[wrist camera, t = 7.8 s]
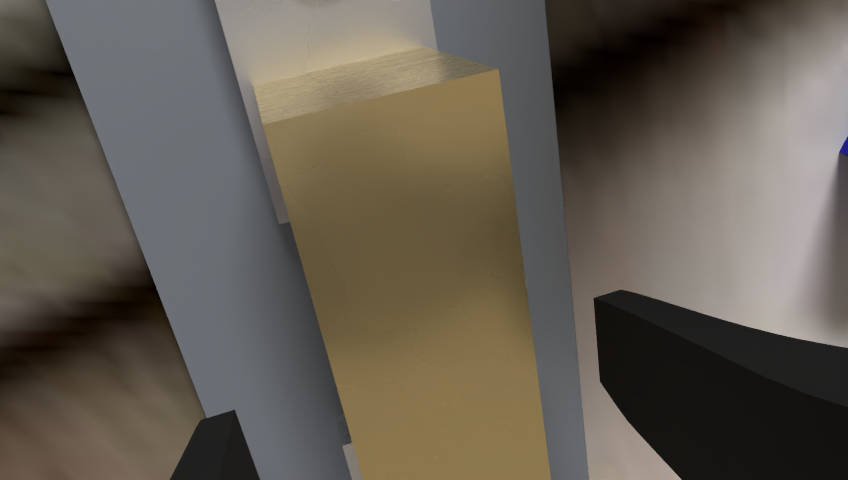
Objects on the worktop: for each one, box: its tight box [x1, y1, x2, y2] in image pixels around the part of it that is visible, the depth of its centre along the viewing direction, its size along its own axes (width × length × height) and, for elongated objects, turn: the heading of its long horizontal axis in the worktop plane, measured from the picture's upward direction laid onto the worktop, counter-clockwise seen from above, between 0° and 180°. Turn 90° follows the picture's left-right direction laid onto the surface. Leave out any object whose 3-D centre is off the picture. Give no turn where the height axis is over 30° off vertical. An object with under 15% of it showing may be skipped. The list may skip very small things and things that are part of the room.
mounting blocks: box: [215, 0, 438, 480], centre depth 16 cm, size 4×18×1 cm, turn 11°
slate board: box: [46, 0, 589, 480], centre depth 17 cm, size 10×20×1 cm, turn 11°
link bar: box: [253, 47, 551, 480], centre depth 13 cm, size 4×12×4 cm, turn 11°
